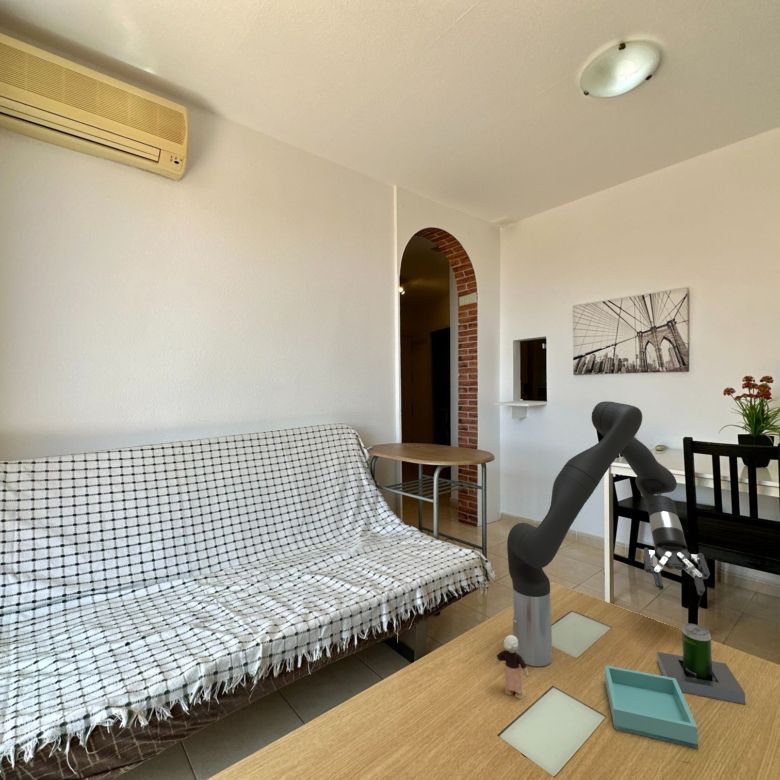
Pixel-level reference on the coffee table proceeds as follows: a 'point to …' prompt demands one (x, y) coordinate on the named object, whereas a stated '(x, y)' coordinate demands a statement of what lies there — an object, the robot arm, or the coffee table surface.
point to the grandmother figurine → (512, 667)
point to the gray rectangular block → (719, 688)
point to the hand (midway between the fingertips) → (680, 591)
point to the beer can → (697, 652)
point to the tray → (650, 706)
